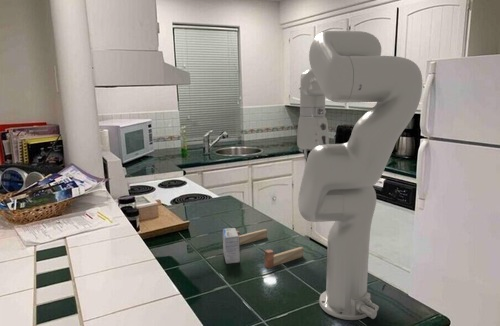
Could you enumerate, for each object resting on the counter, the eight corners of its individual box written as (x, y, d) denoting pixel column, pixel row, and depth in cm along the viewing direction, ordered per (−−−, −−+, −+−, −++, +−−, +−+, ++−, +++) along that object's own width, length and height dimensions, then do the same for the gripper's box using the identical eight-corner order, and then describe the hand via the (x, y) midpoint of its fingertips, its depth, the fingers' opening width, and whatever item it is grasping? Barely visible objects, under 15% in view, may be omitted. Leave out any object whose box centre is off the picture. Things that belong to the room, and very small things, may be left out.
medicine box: (239, 263, 113) (239, 236, 111) (225, 264, 112) (224, 237, 111) (236, 252, 121) (235, 227, 119) (222, 253, 120) (222, 228, 118)
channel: (303, 257, 117) (303, 242, 116) (268, 268, 109) (268, 252, 108) (264, 236, 134) (264, 223, 133) (231, 245, 126) (231, 231, 125)
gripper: (339, 113, 108) (337, 174, 111) (305, 111, 120) (304, 166, 123) (320, 114, 104) (319, 177, 107) (287, 112, 116) (286, 169, 119)
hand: (311, 171), depth 115 cm, fingers closed
